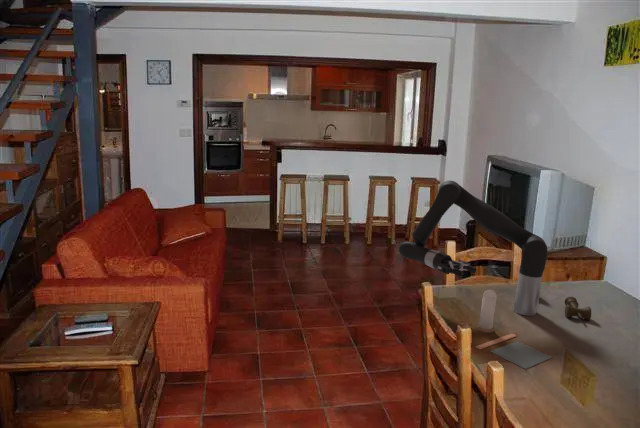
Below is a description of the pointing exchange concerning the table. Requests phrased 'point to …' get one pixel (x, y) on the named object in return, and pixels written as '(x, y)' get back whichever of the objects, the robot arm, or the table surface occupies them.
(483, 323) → the skittle
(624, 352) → the table surface
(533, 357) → the mat
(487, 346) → the distance line
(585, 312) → the kendama
